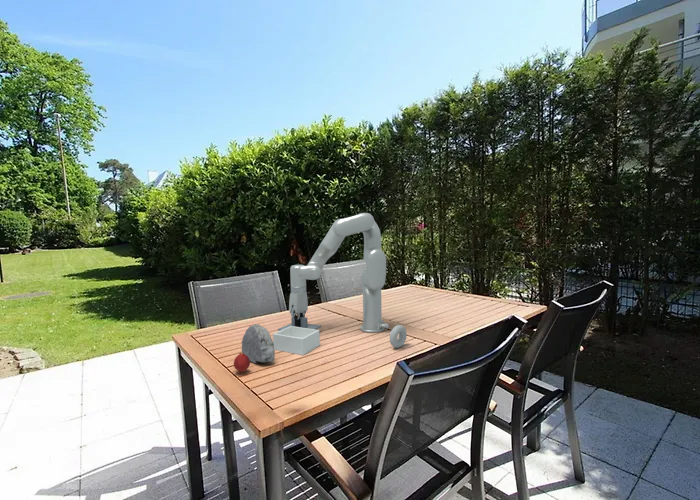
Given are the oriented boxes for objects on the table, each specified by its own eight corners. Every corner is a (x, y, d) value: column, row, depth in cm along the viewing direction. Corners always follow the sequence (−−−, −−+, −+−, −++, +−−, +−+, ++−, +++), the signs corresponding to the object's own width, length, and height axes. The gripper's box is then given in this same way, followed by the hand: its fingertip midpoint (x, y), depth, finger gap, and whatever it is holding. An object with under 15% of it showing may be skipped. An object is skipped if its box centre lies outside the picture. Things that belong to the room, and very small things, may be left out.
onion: (236, 369, 133) (235, 349, 132) (251, 368, 133) (250, 348, 133) (232, 376, 127) (231, 355, 126) (248, 375, 128) (247, 354, 127)
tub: (319, 345, 157) (319, 330, 157) (303, 355, 146) (302, 339, 145) (291, 340, 165) (291, 325, 164) (273, 349, 153) (272, 333, 153)
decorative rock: (240, 358, 144) (238, 323, 142) (254, 353, 149) (252, 319, 147) (263, 369, 133) (262, 330, 132) (277, 363, 138) (276, 326, 137)
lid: (321, 328, 176) (320, 315, 175) (305, 337, 164) (305, 323, 164) (294, 325, 184) (294, 312, 183) (277, 332, 172) (277, 319, 171)
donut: (394, 351, 148) (393, 328, 147) (387, 349, 151) (387, 327, 150) (408, 345, 155) (408, 323, 154) (402, 343, 157) (402, 322, 157)
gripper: (302, 286, 181) (303, 320, 183) (282, 292, 167) (283, 329, 168) (313, 287, 178) (314, 322, 179) (294, 293, 163) (296, 331, 165)
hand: (299, 325), depth 174 cm, fingers closed on lid, 2 cm apart
